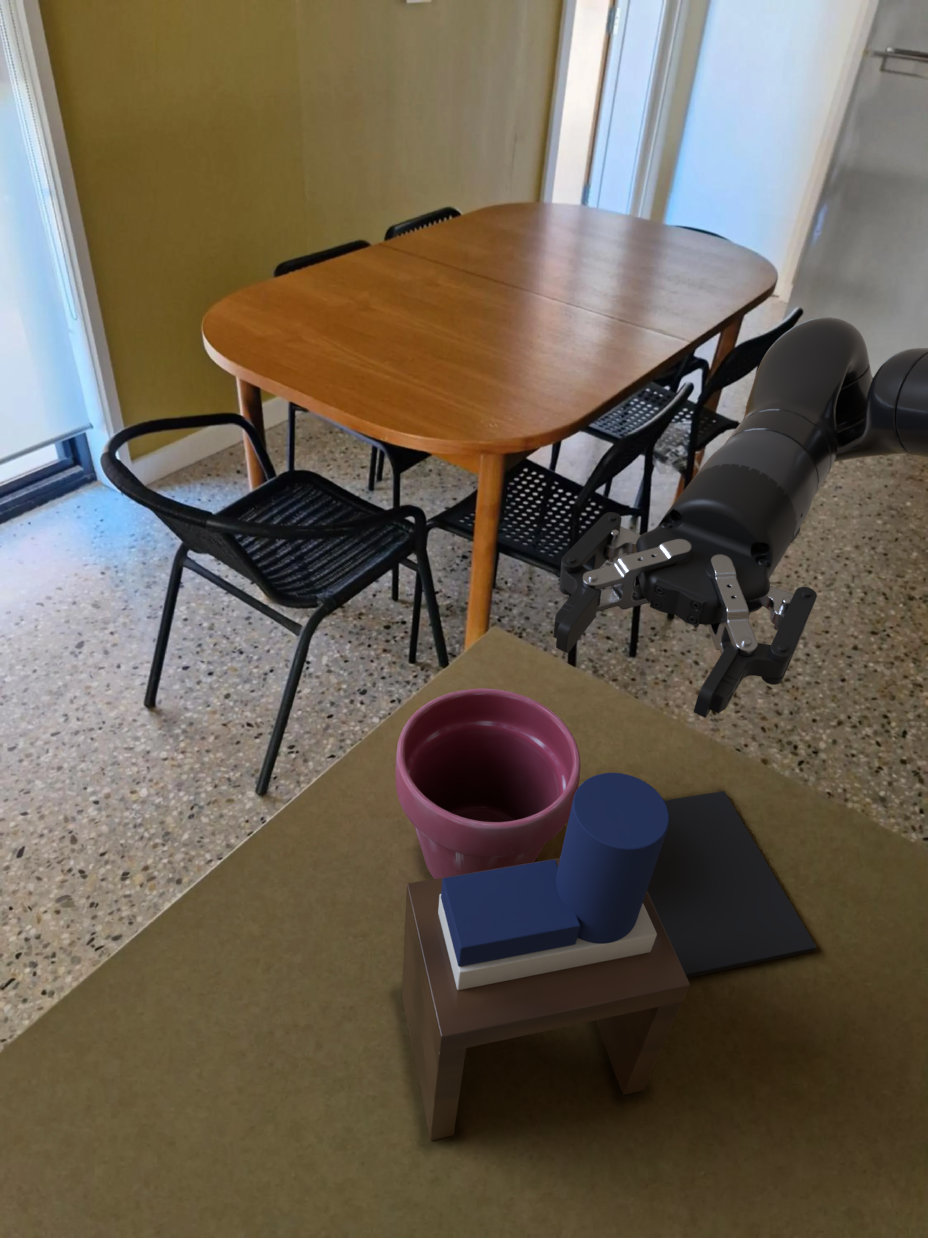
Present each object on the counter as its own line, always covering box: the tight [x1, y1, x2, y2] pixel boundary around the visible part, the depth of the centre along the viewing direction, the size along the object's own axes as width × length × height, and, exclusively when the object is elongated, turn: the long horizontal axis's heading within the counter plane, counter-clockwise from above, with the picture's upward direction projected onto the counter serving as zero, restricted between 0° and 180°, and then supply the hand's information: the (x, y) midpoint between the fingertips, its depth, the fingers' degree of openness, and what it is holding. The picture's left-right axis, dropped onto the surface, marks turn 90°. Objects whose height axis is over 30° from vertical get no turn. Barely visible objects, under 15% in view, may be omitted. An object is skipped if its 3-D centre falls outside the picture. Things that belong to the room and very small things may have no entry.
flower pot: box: [395, 688, 582, 879], centre depth 71 cm, size 14×14×13 cm
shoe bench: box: [401, 857, 691, 1141], centre depth 58 cm, size 10×15×14 cm, turn 104°
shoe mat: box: [647, 790, 818, 979], centre depth 74 cm, size 16×12×1 cm
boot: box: [438, 772, 669, 990], centre depth 51 cm, size 12×5×11 cm, turn 104°
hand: (629, 673), depth 49 cm, fingers open, 8 cm apart
